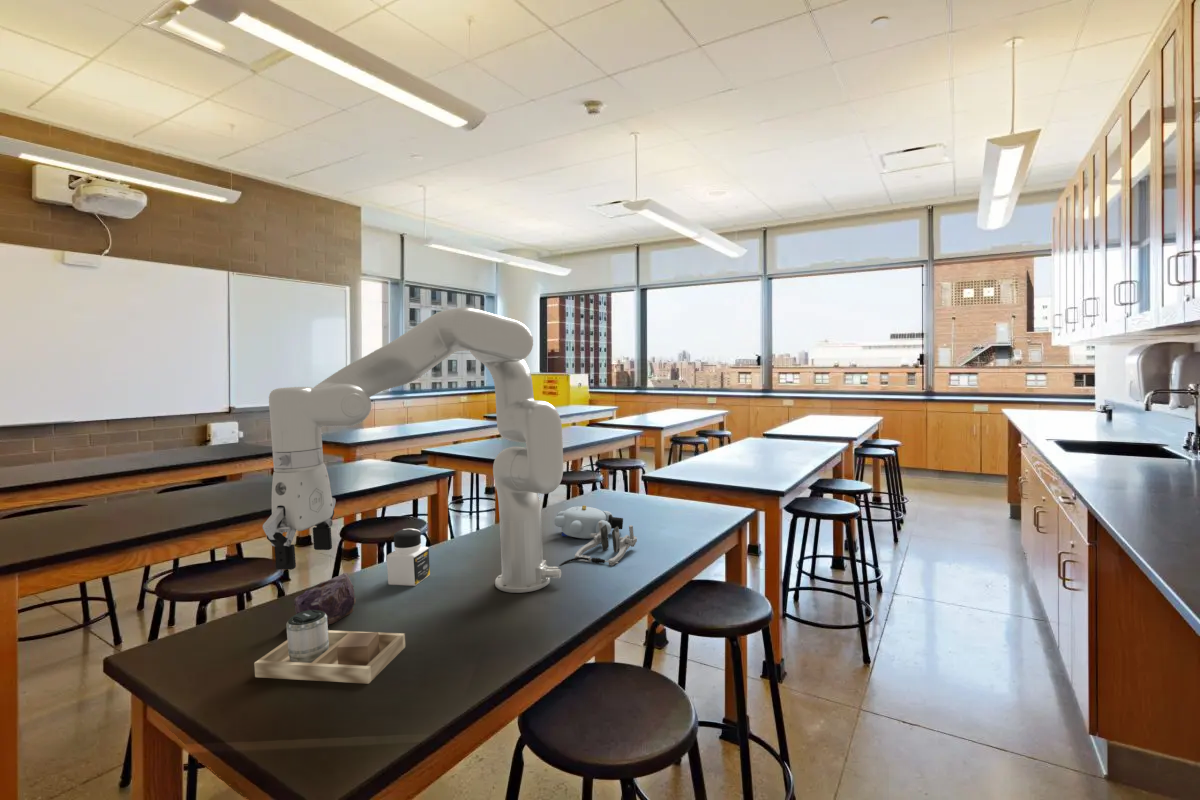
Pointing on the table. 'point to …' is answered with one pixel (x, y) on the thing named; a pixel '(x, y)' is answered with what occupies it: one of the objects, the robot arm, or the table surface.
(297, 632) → the camera lens
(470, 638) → the table surface
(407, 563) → the medicine bottle
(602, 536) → the bike brake
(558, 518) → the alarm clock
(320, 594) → the rock
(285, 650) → the caddy
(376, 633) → the walnut block
